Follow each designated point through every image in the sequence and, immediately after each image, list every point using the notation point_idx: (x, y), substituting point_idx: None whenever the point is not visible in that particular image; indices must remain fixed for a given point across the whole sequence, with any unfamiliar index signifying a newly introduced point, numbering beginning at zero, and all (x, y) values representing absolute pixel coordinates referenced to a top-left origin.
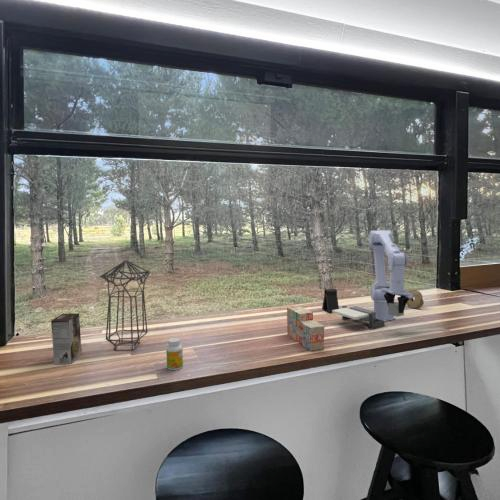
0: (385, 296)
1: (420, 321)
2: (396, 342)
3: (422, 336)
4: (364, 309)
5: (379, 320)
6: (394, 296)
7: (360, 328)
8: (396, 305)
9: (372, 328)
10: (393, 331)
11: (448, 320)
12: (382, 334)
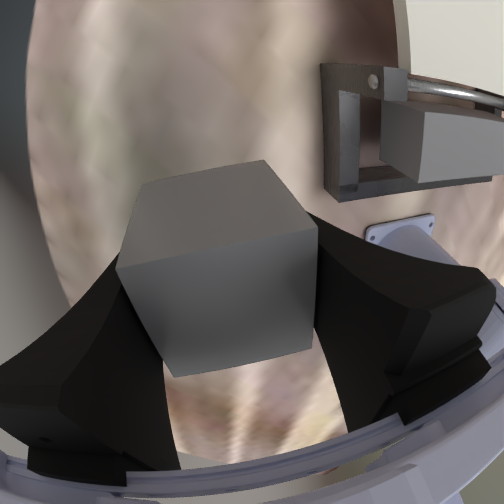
0: (449, 281)
1: (273, 362)
2: (46, 43)
3: (85, 251)
4: (477, 161)
5: (363, 181)
6: (344, 405)
7: (364, 24)
8: (136, 259)
9: (322, 71)
10: (216, 158)
11: (234, 414)
12: (200, 46)
